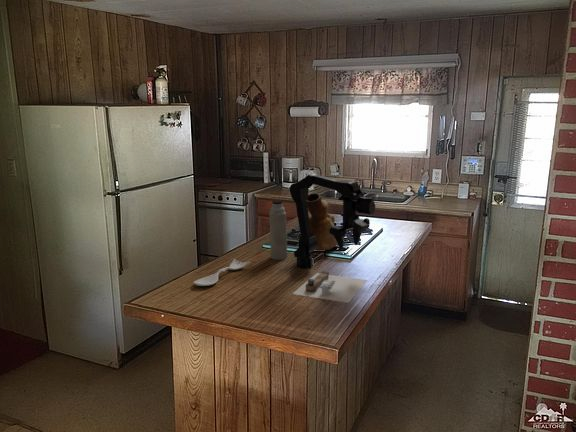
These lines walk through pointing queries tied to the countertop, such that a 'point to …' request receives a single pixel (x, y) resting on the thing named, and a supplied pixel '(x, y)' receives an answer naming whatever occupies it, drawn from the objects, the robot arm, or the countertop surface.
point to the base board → (335, 289)
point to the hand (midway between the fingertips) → (348, 247)
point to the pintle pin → (310, 282)
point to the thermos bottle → (278, 231)
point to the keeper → (327, 287)
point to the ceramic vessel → (321, 221)
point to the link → (317, 282)
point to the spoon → (214, 278)
